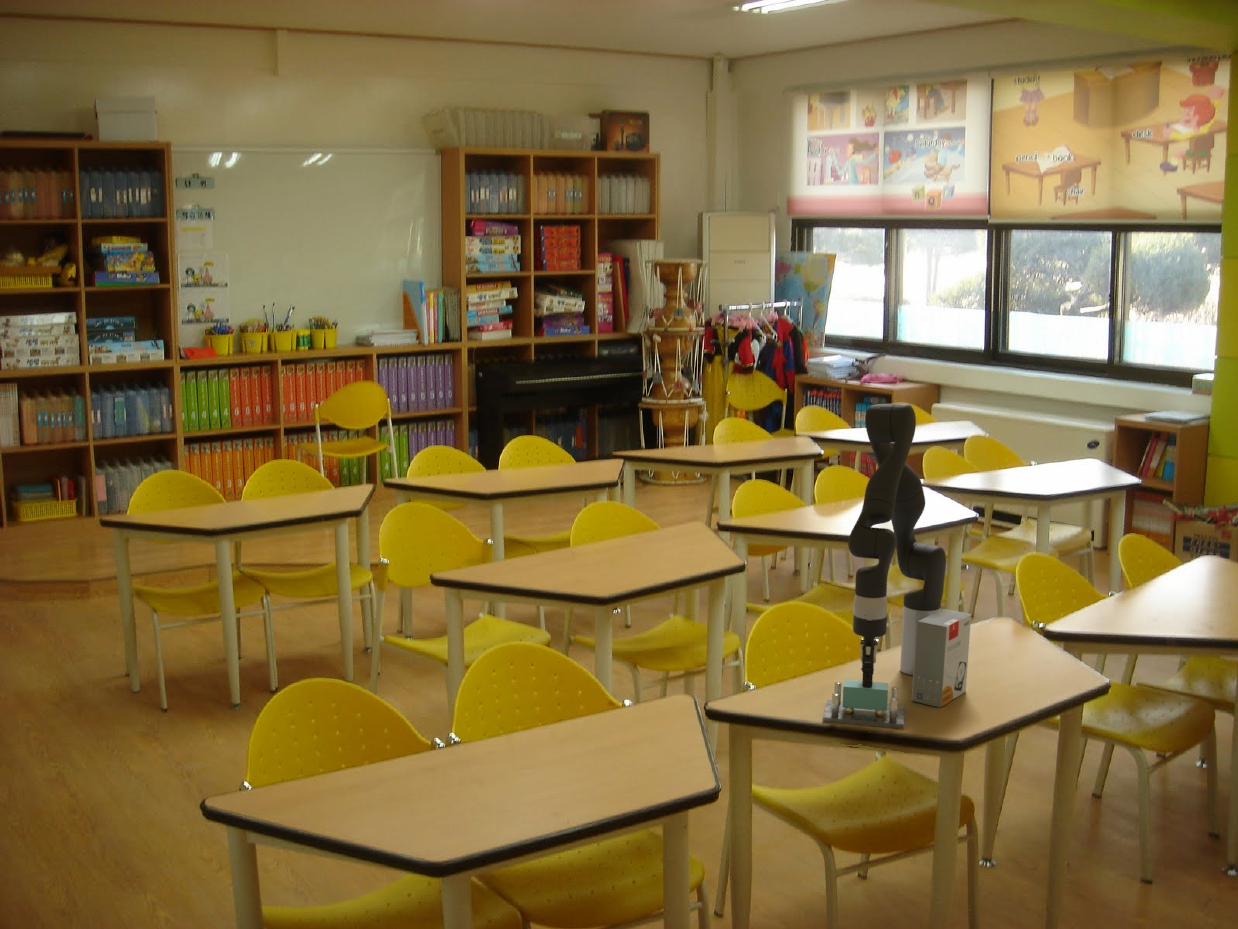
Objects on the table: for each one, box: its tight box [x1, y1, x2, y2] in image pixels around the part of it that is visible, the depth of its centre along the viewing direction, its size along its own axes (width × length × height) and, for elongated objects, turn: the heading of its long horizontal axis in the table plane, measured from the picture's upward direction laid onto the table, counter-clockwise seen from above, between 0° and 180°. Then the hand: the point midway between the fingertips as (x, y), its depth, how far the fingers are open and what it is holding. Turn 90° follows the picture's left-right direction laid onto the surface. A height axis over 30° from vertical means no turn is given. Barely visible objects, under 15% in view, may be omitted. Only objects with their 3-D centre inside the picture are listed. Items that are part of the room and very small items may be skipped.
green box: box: [842, 679, 889, 711], centre depth 301 cm, size 5×10×5 cm, turn 78°
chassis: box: [822, 681, 906, 730], centre depth 301 cm, size 12×18×6 cm, turn 77°
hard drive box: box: [911, 608, 972, 708], centre depth 313 cm, size 16×8×20 cm, turn 143°
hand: (867, 681), depth 300 cm, fingers open, 8 cm apart
